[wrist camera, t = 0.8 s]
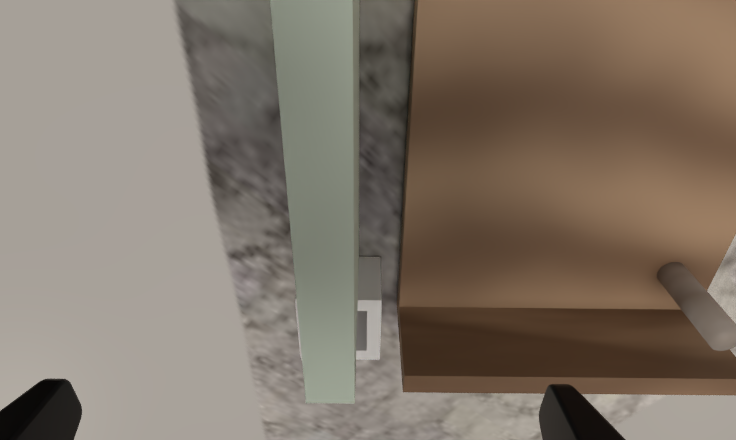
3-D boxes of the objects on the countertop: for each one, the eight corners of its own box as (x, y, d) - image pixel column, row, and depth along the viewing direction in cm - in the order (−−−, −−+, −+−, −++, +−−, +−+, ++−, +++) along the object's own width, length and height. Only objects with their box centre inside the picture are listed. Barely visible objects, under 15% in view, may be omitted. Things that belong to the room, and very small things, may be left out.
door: (378, 313, 25) (382, 466, 18) (307, 313, 25) (284, 465, 18) (391, -104, 15) (409, -112, 8) (276, -105, 15) (202, -115, 8)
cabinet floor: (676, 307, 24) (743, 395, 20) (396, 304, 24) (403, 392, 20) (929, -225, 14) (1194, -287, 9) (428, -232, 14) (456, -299, 9)
